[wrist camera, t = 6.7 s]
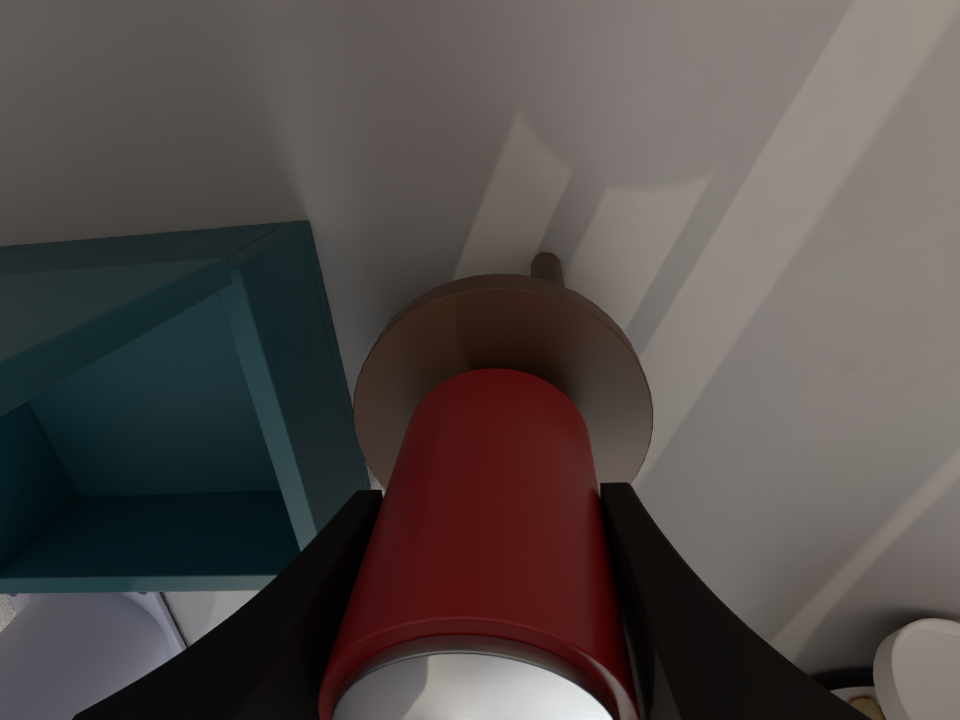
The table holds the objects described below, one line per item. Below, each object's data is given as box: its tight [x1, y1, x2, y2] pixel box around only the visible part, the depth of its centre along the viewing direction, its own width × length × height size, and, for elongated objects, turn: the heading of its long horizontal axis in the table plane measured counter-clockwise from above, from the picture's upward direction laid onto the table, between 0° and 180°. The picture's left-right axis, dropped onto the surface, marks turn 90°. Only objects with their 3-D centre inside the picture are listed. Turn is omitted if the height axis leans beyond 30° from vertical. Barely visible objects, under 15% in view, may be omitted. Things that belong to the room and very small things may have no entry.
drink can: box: [318, 368, 640, 720], centre depth 12 cm, size 5×5×8 cm
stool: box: [353, 252, 653, 493], centre depth 19 cm, size 9×9×4 cm
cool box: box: [0, 221, 371, 594], centre depth 20 cm, size 12×14×5 cm
